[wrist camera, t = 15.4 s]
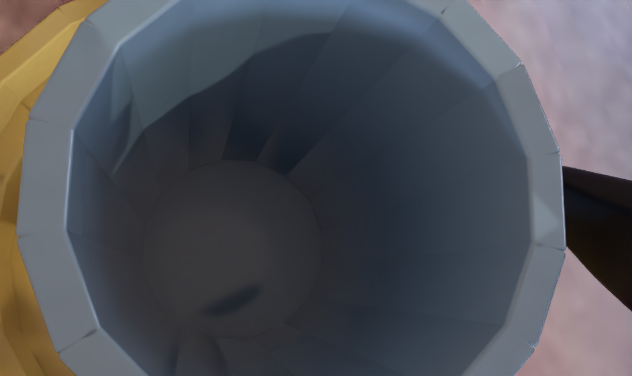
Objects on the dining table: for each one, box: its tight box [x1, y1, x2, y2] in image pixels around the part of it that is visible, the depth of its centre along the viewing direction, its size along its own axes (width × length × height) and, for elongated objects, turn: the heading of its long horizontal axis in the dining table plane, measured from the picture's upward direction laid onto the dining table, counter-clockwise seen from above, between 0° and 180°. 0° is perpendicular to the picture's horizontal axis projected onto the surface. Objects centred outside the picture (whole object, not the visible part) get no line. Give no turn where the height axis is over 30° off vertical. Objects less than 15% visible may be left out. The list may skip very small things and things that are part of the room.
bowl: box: [0, 0, 108, 376], centre depth 18 cm, size 16×16×4 cm
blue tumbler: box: [15, 0, 566, 376], centre depth 13 cm, size 6×6×12 cm
